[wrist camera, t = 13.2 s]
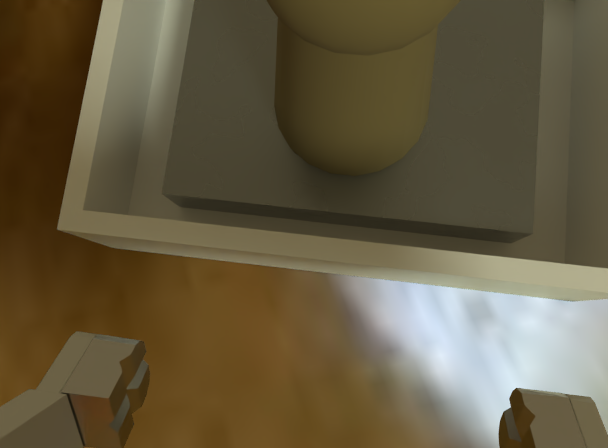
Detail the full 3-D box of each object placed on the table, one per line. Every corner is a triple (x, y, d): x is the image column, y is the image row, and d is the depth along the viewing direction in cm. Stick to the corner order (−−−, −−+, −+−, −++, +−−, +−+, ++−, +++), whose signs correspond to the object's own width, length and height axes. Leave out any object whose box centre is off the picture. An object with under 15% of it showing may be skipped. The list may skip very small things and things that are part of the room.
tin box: (179, 207, 23) (161, 193, 21) (214, -4, 25) (201, -39, 22) (510, 243, 22) (533, 233, 20) (522, 21, 24) (544, -13, 21)
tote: (113, 248, 24) (56, 229, 19) (164, -33, 26) (126, -115, 21) (572, 301, 22) (640, 296, 18) (583, -1, 25) (645, -80, 20)
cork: (375, 206, 20) (422, 74, 9) (243, 123, 21) (146, -87, 10) (459, 78, 21) (595, -185, 10) (328, 3, 22) (323, -314, 11)
